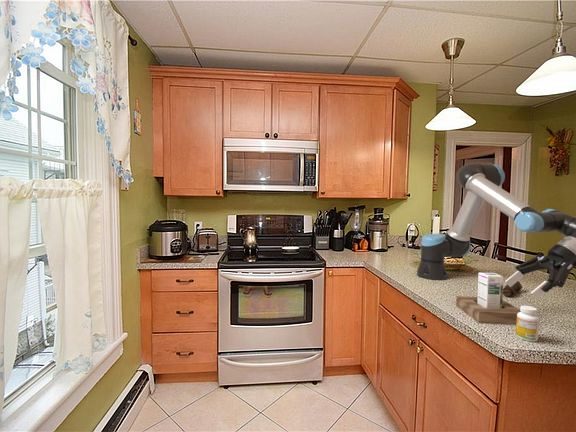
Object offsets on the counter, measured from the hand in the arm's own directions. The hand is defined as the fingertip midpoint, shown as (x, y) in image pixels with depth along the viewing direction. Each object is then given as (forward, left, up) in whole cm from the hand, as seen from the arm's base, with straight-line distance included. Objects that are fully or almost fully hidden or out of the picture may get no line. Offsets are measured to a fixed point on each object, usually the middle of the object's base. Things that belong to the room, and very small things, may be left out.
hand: (519, 289), depth 108 cm
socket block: (0, -11, -10) cm, 14 cm away
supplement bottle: (+18, -10, -10) cm, 23 cm away
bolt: (-26, +14, -10) cm, 32 cm away
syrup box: (0, -10, -9) cm, 14 cm away
